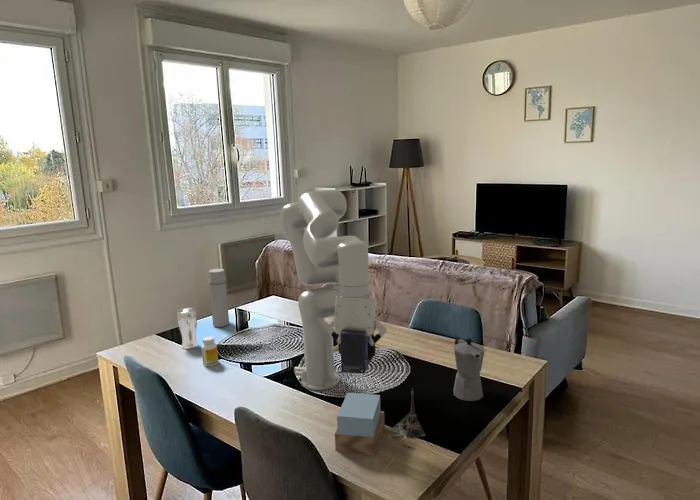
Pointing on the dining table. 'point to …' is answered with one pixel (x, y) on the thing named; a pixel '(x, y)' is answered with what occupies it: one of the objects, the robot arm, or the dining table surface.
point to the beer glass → (188, 327)
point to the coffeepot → (468, 370)
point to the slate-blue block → (359, 415)
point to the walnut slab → (360, 440)
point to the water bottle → (218, 297)
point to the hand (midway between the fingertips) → (357, 356)
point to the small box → (354, 351)
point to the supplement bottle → (209, 351)
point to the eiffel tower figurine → (407, 426)
